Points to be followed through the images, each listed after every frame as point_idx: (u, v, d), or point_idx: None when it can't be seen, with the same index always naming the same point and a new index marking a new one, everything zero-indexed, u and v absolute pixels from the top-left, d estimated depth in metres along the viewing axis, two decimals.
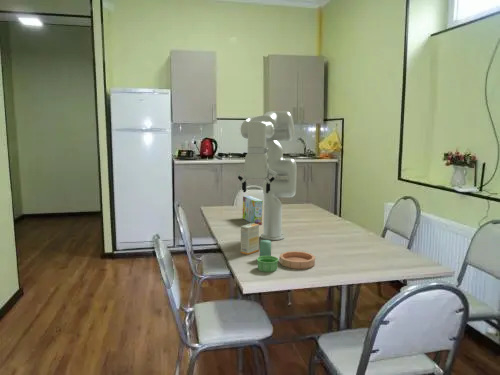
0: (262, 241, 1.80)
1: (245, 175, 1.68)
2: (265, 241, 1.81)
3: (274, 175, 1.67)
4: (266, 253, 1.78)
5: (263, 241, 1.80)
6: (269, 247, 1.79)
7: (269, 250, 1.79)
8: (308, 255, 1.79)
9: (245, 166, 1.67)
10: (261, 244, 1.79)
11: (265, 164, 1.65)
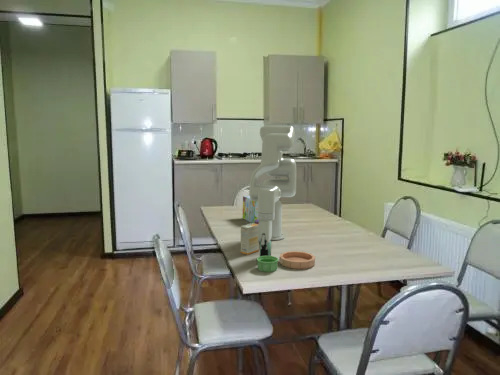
0: None
1: (268, 240, 1.75)
2: (265, 241, 1.81)
3: None
4: None
5: None
6: (269, 247, 1.79)
7: (269, 250, 1.79)
8: (308, 255, 1.79)
9: (268, 232, 1.75)
10: None
11: None
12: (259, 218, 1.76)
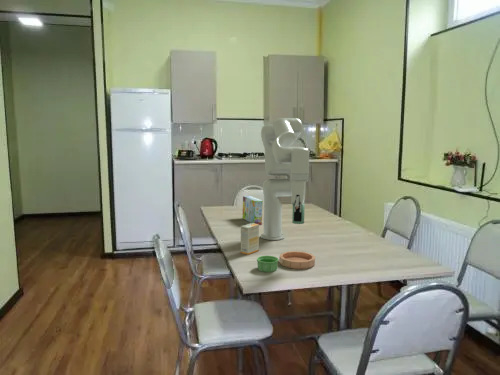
0: None
1: (302, 202, 1.67)
2: None
3: None
4: None
5: None
6: (303, 210, 1.71)
7: (303, 213, 1.71)
8: (308, 255, 1.79)
9: (303, 193, 1.67)
10: (294, 207, 1.71)
11: None
12: (293, 179, 1.68)
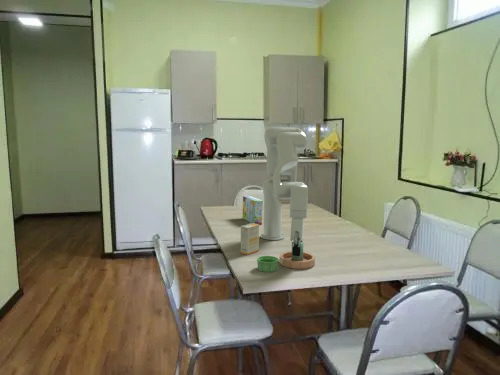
0: None
1: (301, 239, 1.69)
2: None
3: None
4: None
5: None
6: (301, 249, 1.73)
7: (301, 252, 1.73)
8: (308, 255, 1.79)
9: (302, 230, 1.69)
10: None
11: None
12: (292, 215, 1.70)
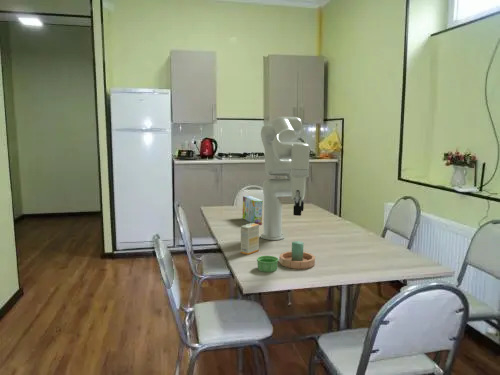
0: (294, 242, 1.74)
1: (302, 198, 1.67)
2: (297, 242, 1.75)
3: None
4: (299, 255, 1.73)
5: (295, 242, 1.75)
6: (301, 249, 1.73)
7: (301, 252, 1.73)
8: (308, 255, 1.79)
9: (303, 189, 1.67)
10: (293, 246, 1.73)
11: None
12: (293, 175, 1.68)
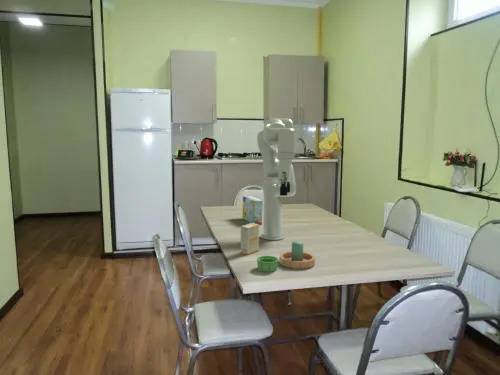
0: (294, 242, 1.74)
1: (288, 179, 1.79)
2: (297, 242, 1.75)
3: None
4: (299, 255, 1.73)
5: (295, 242, 1.75)
6: (301, 249, 1.73)
7: (301, 252, 1.73)
8: (308, 255, 1.79)
9: (289, 170, 1.78)
10: (293, 246, 1.73)
11: None
12: (279, 157, 1.80)
